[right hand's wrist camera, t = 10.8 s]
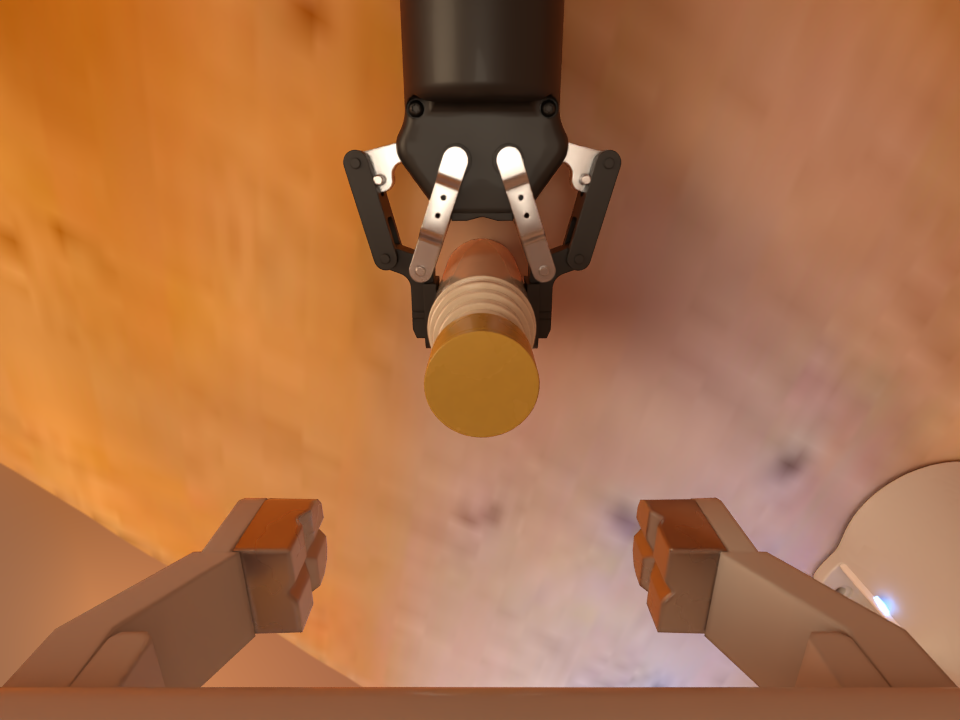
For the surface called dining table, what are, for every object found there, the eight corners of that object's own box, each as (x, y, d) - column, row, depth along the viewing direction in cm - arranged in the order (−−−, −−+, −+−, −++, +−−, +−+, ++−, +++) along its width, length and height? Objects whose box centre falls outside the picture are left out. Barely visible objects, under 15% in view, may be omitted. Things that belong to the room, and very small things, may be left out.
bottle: (520, 240, 34) (560, 315, 17) (515, 312, 36) (547, 448, 19) (445, 236, 34) (409, 308, 17) (444, 309, 36) (410, 442, 19)
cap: (537, 314, 19) (544, 333, 17) (529, 410, 20) (534, 440, 18) (430, 309, 19) (424, 328, 17) (429, 406, 20) (423, 435, 18)
